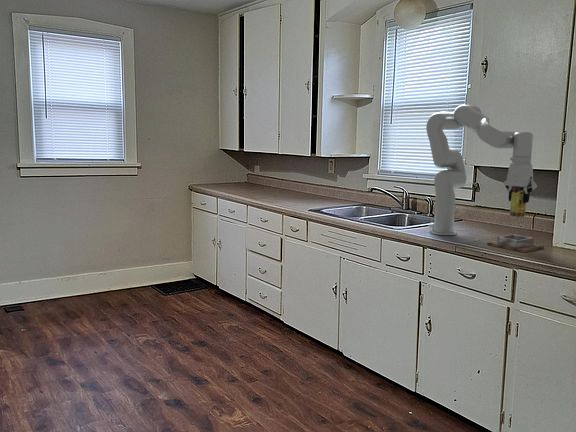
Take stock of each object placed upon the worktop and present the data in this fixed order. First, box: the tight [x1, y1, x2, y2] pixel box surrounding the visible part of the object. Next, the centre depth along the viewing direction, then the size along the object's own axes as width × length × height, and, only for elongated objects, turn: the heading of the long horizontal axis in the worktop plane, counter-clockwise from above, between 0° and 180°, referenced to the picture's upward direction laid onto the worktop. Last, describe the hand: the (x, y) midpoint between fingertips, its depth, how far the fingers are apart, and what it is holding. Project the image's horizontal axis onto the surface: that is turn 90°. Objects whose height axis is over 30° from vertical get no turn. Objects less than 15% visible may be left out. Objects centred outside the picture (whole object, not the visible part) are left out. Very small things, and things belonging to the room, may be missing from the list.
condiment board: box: [486, 233, 545, 253], centre depth 240 cm, size 18×15×4 cm
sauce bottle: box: [509, 186, 527, 218], centre depth 237 cm, size 7×6×20 cm
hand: (518, 201), depth 237 cm, fingers closed on sauce bottle, 6 cm apart
